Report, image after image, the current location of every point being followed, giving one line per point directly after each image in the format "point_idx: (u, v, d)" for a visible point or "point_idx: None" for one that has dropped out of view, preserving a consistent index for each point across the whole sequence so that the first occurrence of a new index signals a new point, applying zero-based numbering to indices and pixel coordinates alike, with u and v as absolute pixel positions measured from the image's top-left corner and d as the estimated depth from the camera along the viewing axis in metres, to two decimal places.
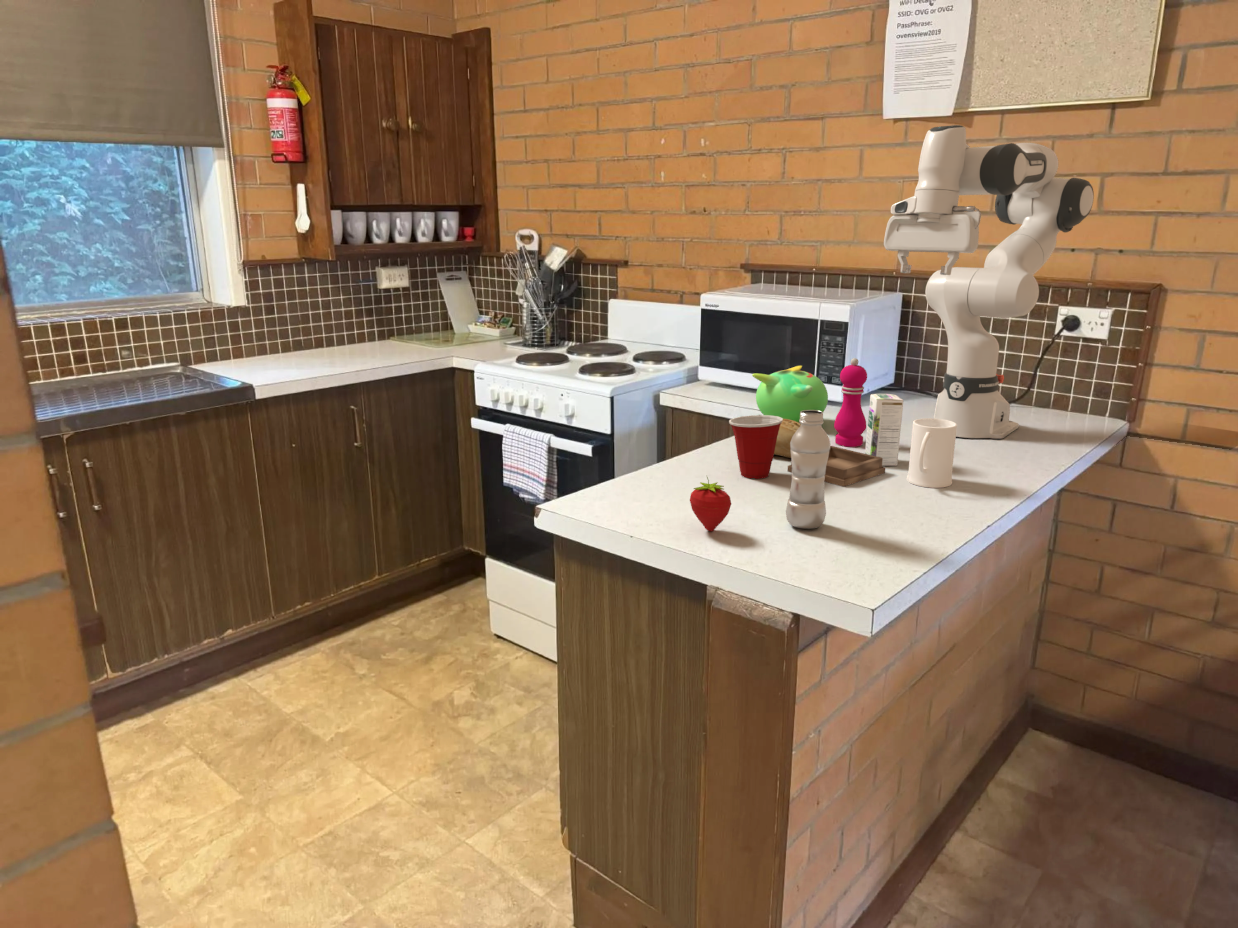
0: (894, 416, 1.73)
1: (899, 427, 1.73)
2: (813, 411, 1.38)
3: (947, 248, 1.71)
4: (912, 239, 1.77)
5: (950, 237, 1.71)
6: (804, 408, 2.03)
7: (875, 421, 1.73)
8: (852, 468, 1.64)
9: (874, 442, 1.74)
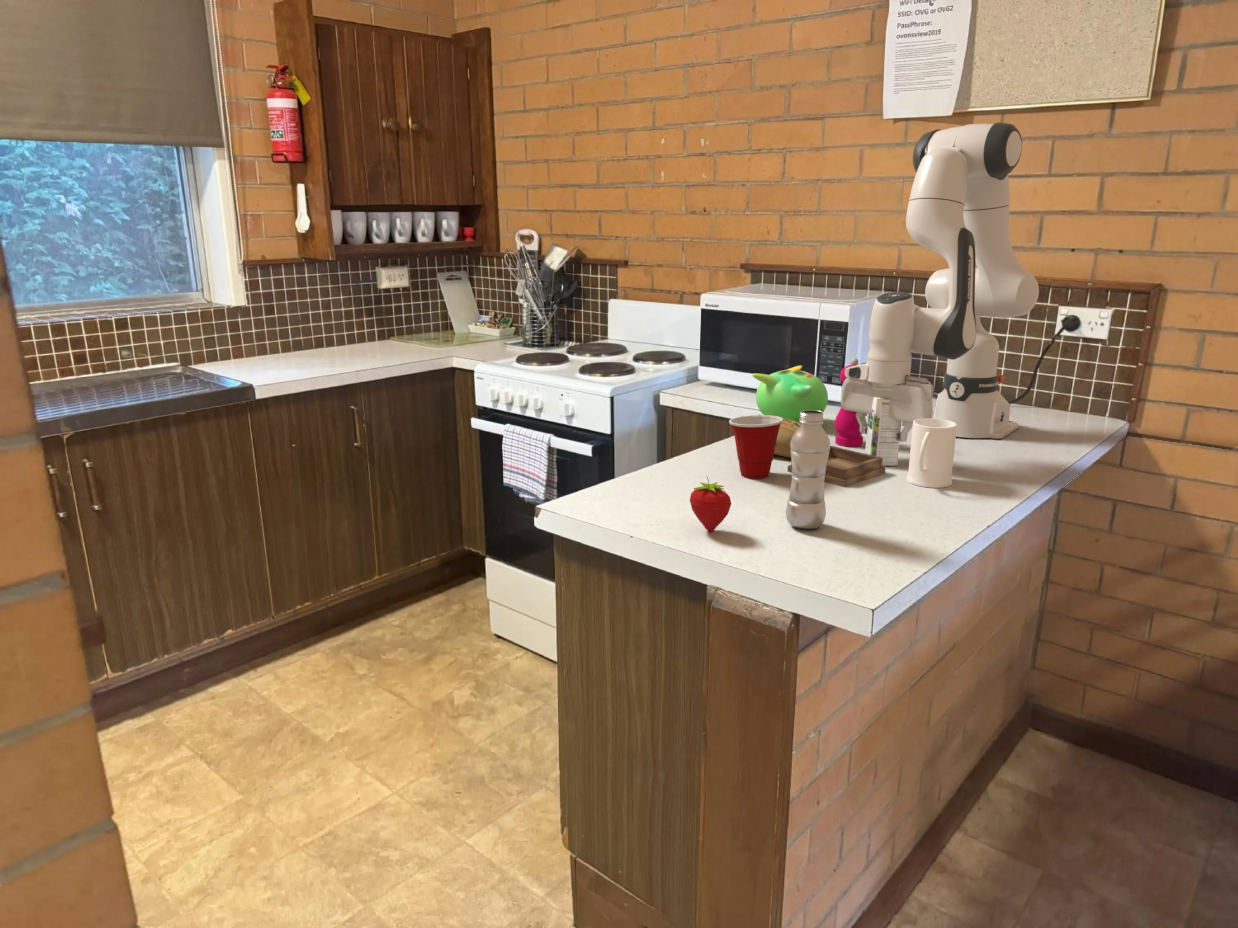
0: None
1: (899, 427, 1.73)
2: (813, 411, 1.38)
3: (902, 418, 1.70)
4: (867, 403, 1.76)
5: (904, 408, 1.70)
6: (804, 408, 2.03)
7: (875, 421, 1.73)
8: (852, 468, 1.64)
9: (874, 442, 1.74)
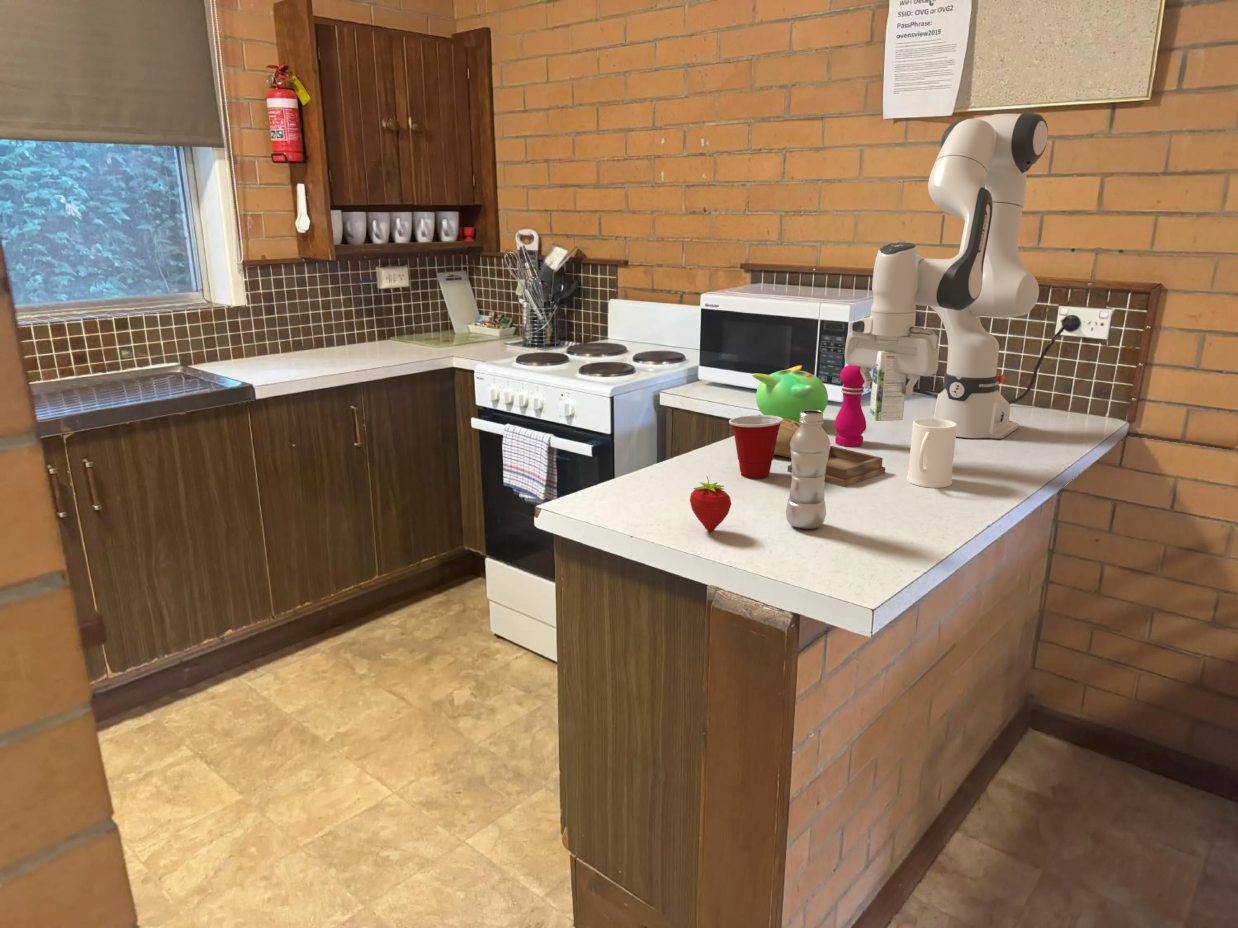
0: None
1: (904, 381, 1.71)
2: (813, 411, 1.38)
3: (907, 371, 1.68)
4: (872, 357, 1.74)
5: (909, 360, 1.67)
6: (804, 408, 2.03)
7: (880, 375, 1.71)
8: (852, 468, 1.64)
9: (879, 397, 1.72)
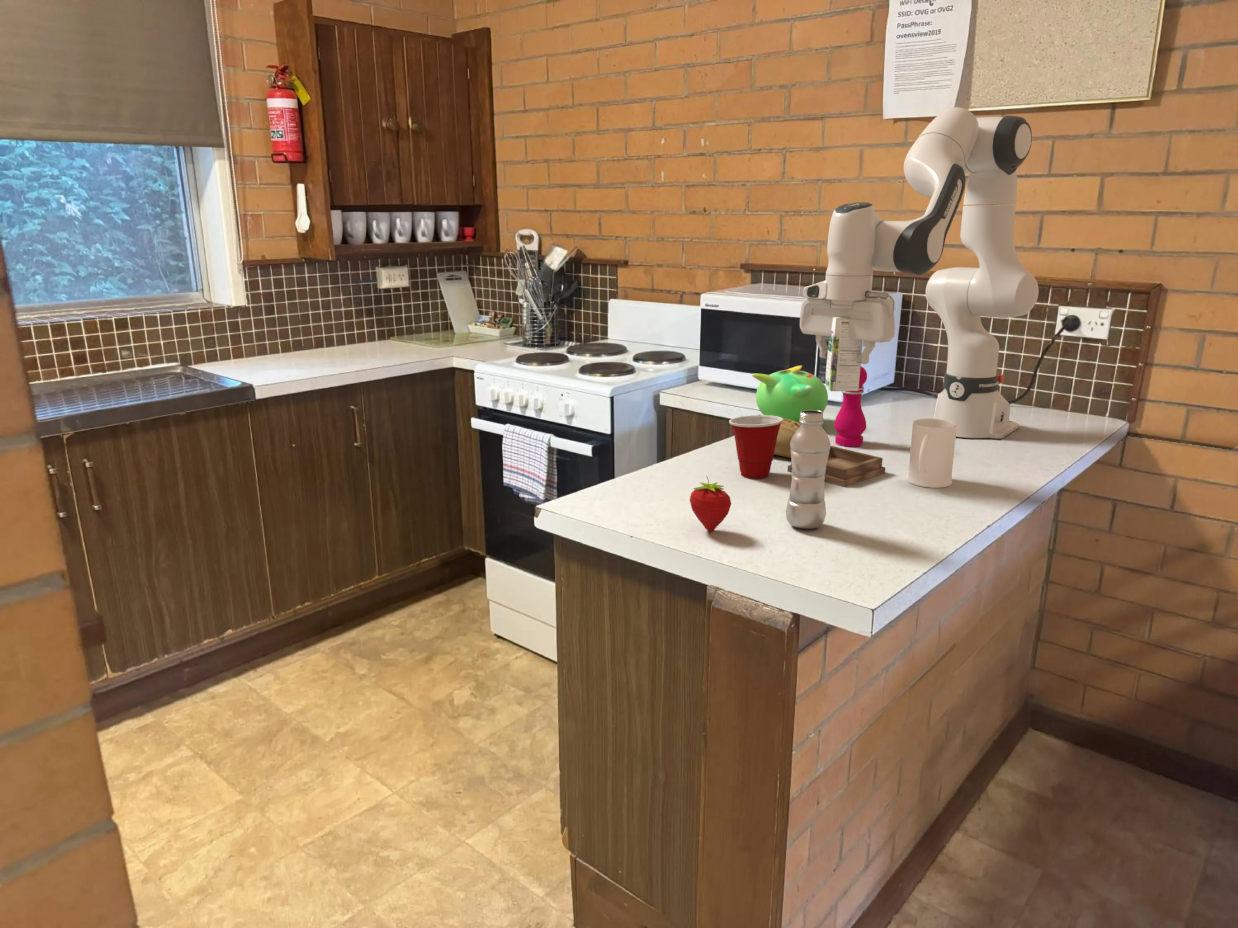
0: None
1: (860, 349, 1.62)
2: (813, 411, 1.38)
3: (862, 337, 1.59)
4: (827, 324, 1.65)
5: (864, 326, 1.58)
6: (804, 408, 2.03)
7: (834, 342, 1.62)
8: (852, 468, 1.64)
9: (833, 365, 1.63)
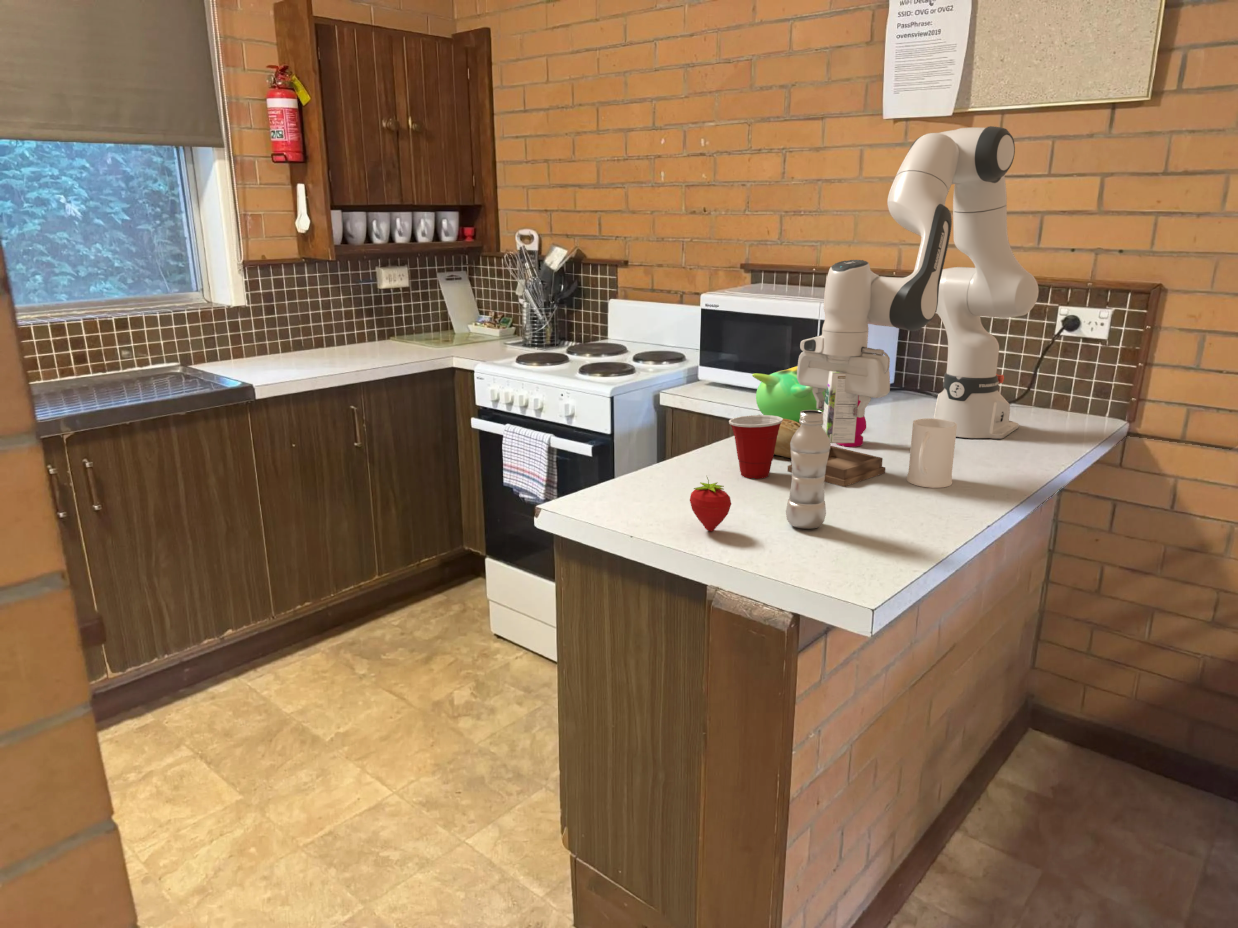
0: None
1: (856, 402, 1.65)
2: (813, 411, 1.38)
3: (858, 392, 1.62)
4: (824, 377, 1.68)
5: (860, 381, 1.61)
6: (804, 408, 2.03)
7: (831, 396, 1.65)
8: (852, 468, 1.64)
9: (830, 418, 1.66)
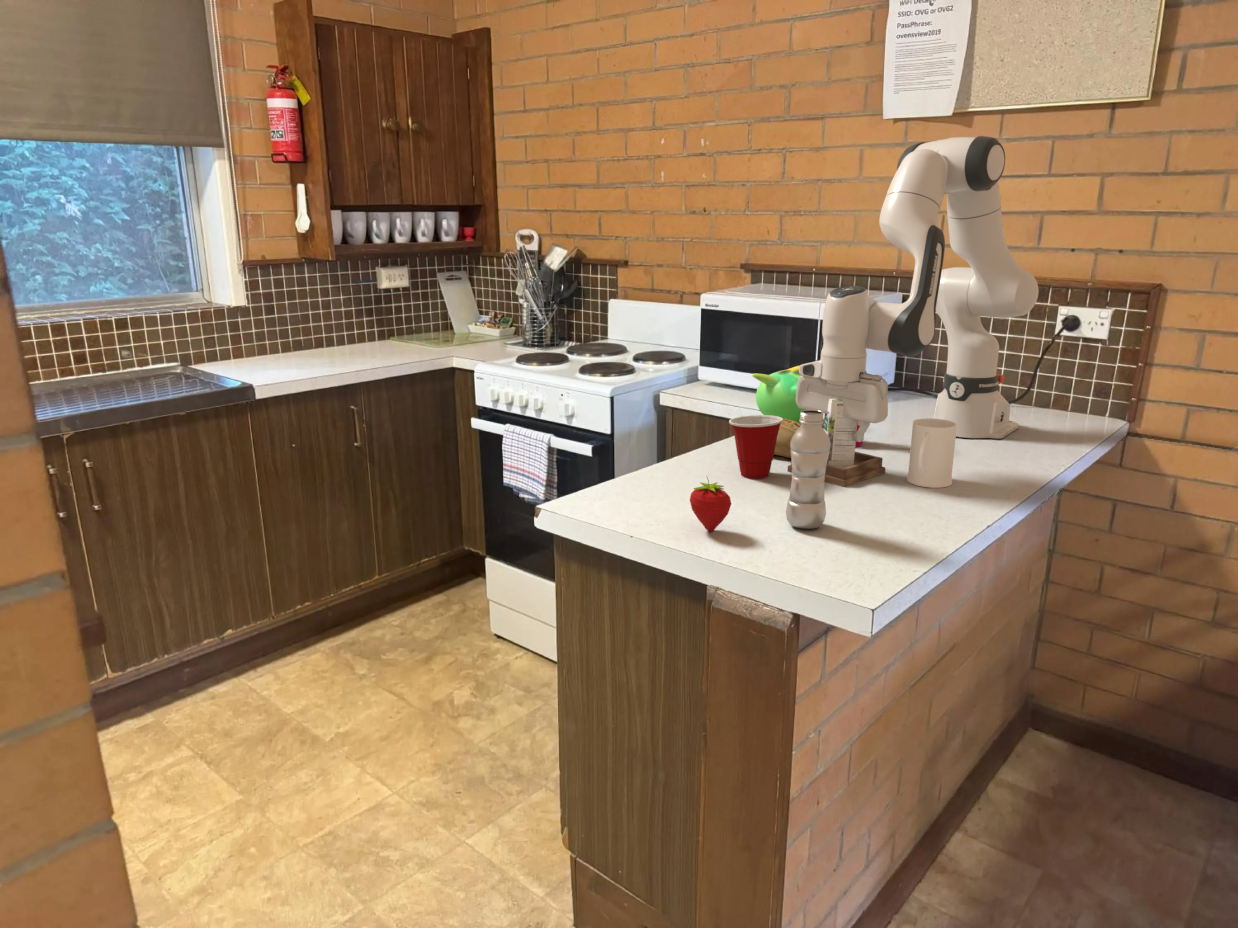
0: None
1: (855, 429, 1.67)
2: (813, 411, 1.38)
3: (856, 417, 1.64)
4: (822, 401, 1.69)
5: (858, 406, 1.63)
6: None
7: (830, 423, 1.67)
8: (852, 468, 1.64)
9: None
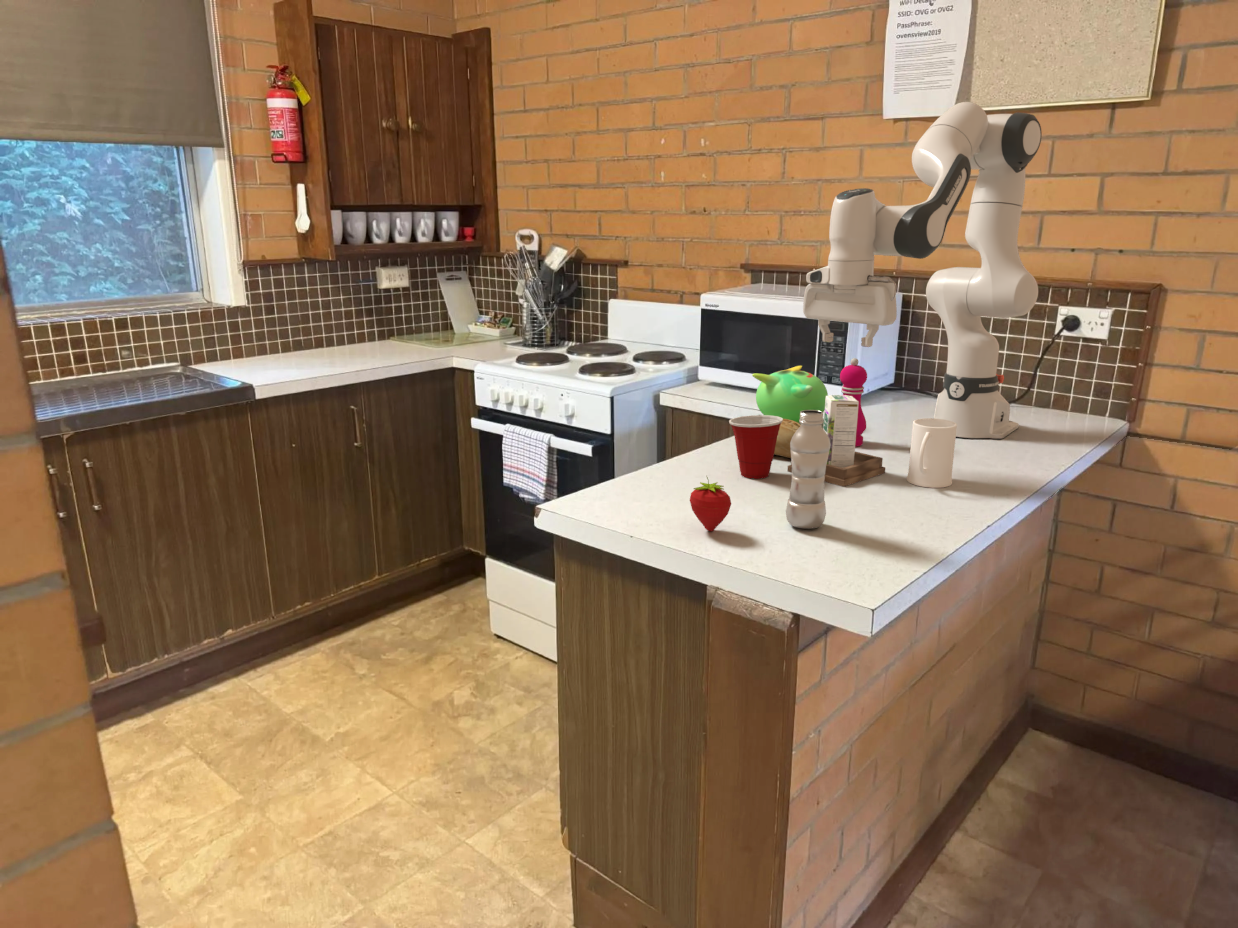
0: (850, 418, 1.66)
1: (855, 429, 1.67)
2: (813, 411, 1.38)
3: (865, 321, 1.63)
4: (830, 309, 1.69)
5: (866, 310, 1.62)
6: (804, 408, 2.03)
7: (830, 423, 1.67)
8: (852, 468, 1.64)
9: None
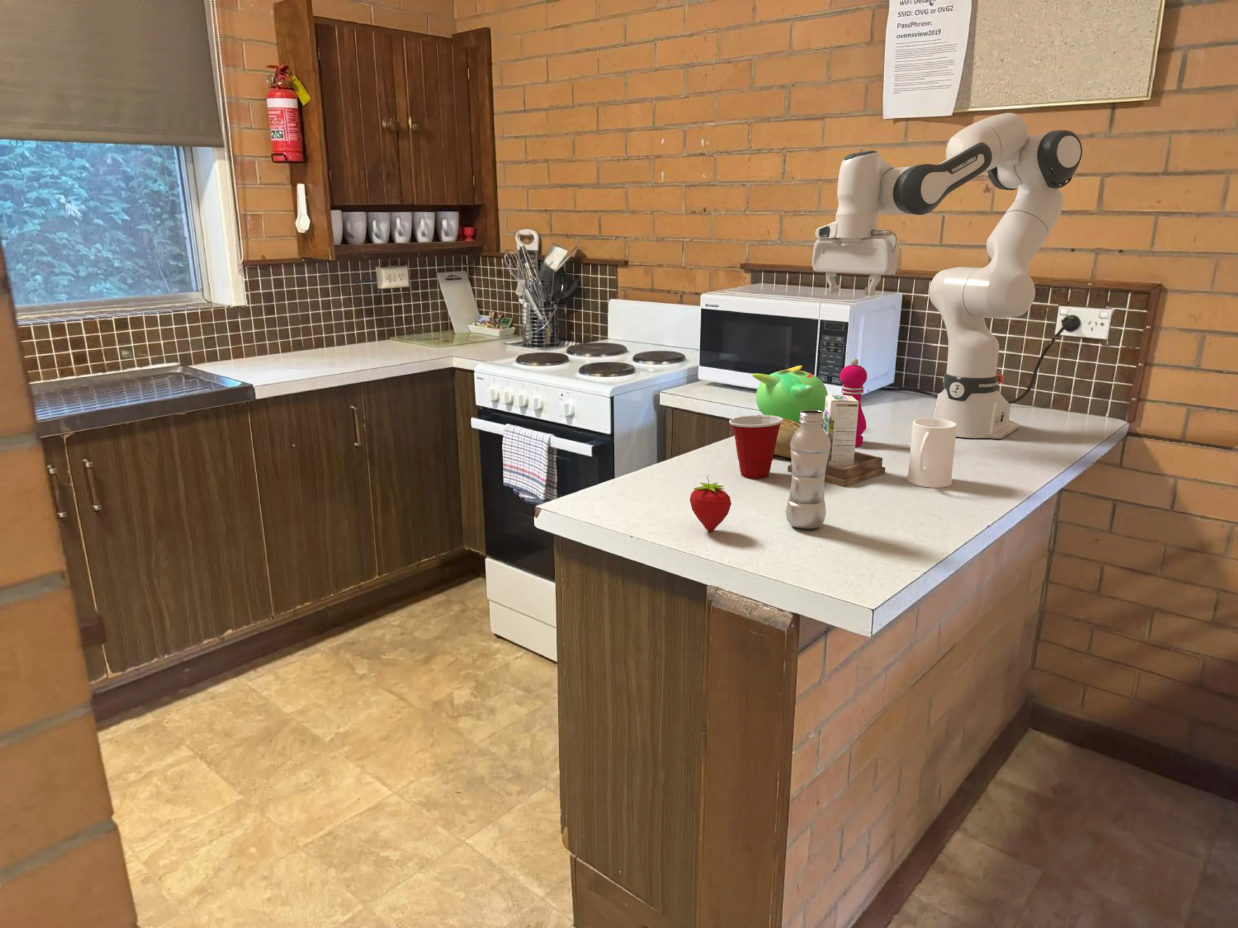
0: (850, 418, 1.66)
1: (855, 430, 1.67)
2: (813, 411, 1.38)
3: (868, 271, 1.79)
4: (837, 261, 1.85)
5: (870, 261, 1.78)
6: (804, 408, 2.03)
7: (830, 423, 1.67)
8: (852, 468, 1.64)
9: None
